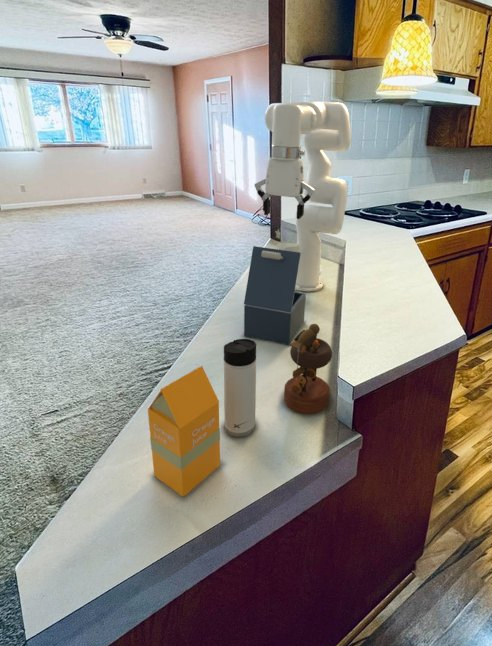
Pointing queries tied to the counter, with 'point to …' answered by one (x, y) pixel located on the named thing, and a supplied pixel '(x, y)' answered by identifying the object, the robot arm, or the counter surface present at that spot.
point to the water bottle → (287, 245)
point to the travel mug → (239, 387)
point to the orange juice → (185, 432)
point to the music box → (308, 373)
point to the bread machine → (275, 321)
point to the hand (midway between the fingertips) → (283, 216)
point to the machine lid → (272, 278)
